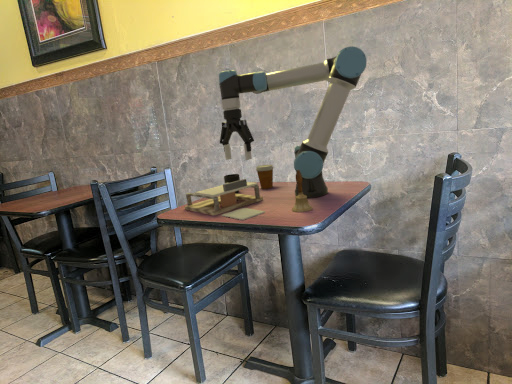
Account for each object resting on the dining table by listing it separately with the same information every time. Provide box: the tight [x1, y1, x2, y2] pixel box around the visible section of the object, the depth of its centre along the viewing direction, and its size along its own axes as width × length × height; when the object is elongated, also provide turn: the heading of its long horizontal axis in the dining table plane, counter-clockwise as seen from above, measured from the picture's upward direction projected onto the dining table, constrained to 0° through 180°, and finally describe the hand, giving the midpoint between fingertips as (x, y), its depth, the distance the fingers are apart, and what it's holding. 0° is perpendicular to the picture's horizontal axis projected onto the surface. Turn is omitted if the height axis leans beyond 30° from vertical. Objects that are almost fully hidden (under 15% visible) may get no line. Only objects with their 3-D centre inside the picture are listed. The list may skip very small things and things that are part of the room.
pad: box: [220, 207, 266, 221], centre depth 152 cm, size 14×12×1 cm
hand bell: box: [291, 170, 314, 213], centre depth 147 cm, size 8×8×16 cm
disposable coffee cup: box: [255, 164, 274, 190], centre depth 200 cm, size 10×10×12 cm
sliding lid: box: [194, 178, 259, 197], centre depth 168 cm, size 15×25×4 cm, turn 131°
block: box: [220, 192, 237, 208], centre depth 170 cm, size 5×5×7 cm
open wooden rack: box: [184, 182, 264, 216], centre depth 173 cm, size 24×28×7 cm
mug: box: [223, 173, 241, 194], centre depth 200 cm, size 8×12×10 cm
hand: (238, 159), depth 160 cm, fingers open, 13 cm apart
